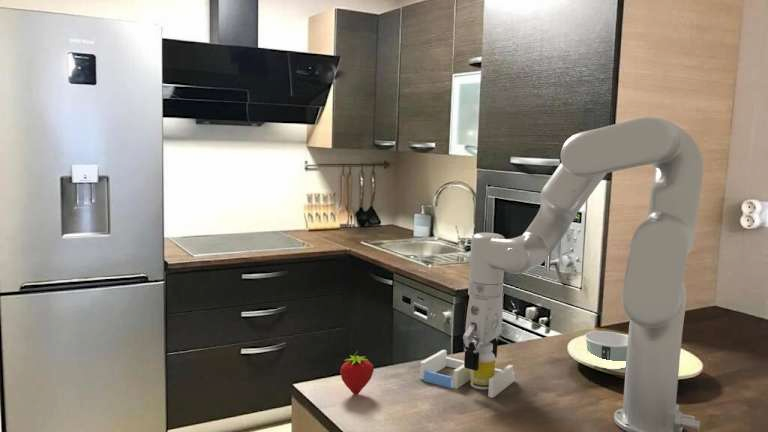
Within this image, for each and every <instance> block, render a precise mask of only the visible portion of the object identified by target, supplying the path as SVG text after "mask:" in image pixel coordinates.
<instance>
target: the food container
mask: <svg viewBox="0 0 768 432" xmlns="http://www.w3.org/2000/svg"><path fill="white" fill-rule="evenodd" d="M583 337H584V339H585V342H586V349H587V350H588V351H589V352H590V353H591V354H593V355H595V356H597V357H599V358H602V359H606V360H612V361H626V358H627V345H628V335H626V334H622V333H619V332H614V331H604V330H599V331H598V330H597V331H589V332H587V333H585V334H584V336H583ZM588 351H587V352H588Z"/></svg>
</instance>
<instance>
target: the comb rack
mask: <svg viewBox="0 0 768 432" xmlns="http://www.w3.org/2000/svg"><path fill="white" fill-rule="evenodd" d="M447 352H448V351H447V350H446V349H441V350H439V351H438V352H436V353H435V354H433V355H431V356H429V357H427V358H425V359H423V360H422V361H420V362H419V363H420V364H419V379H420V380H423V382H425V383H429V384H434V385H437V386H441V387H445V388H449V389H451V388H453V389H459V388H460V387H462V386H463V385H464V384H466V383H467V382H470V371H471V369H468V368H465V367H464V360H462V359H457V358H453V357H449V356H447V355H448V353H447ZM446 367H449V368H452V369H453V374H452V375H453V376H451V375H450V376H449V375H446V374H443V373H442V374H441V373H438V372H439V371H440V370H443V369H444V368H446ZM515 375H516V374H515V372H514V365H513V364H508V365H506V366H505V367H504V368H503V369H500V368H496V367H495V375H494V376H493V377H491V378H490V379H489V389H488V394H487V395H488V398H492V399H493V398H494V397H496V396H498V394H500V393H501V392H502V391H503V390H505V389H507V387H509V386H510V385H511V384H513V383H514V382H515Z"/></svg>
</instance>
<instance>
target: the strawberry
mask: <svg viewBox="0 0 768 432" xmlns="http://www.w3.org/2000/svg"><path fill="white" fill-rule="evenodd" d="M357 353H358V350H357V351H356V352H355V353H354V354H353V355H351V354H349V357H350V358H346V359H344V361H345V362H344V363H343V364H342V365H341V367H340V371H339V374H340V377H341V380H342V382H343V383H344V385H345V386H346V387H347V388H348V390H349V391H350V392H351V393H352V394H353V395H358V394H360V392H362V390H363V389H364V388H365V386H367V384H368V383H369V382H370V380H371V379H372V376H373V374H374V371H375V369H374V365H373V363H371V361H369V359H368V358H367V355H365V356H359V355H356V354H357Z"/></svg>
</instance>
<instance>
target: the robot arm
mask: <svg viewBox="0 0 768 432" xmlns="http://www.w3.org/2000/svg"><path fill="white" fill-rule="evenodd" d="M560 161H561V162H560V164H559V165H558V167H556V169H555V171H554V172H553V174H552V175H551V176H550V178H549V179H548V181H547V182H546V183H545V184H544V186H543V188H542V189H541V192H540V201H541V202H540V207H539V209H538V212H537V214H536V216H535V217H534V219H533V220H532V222H531V223H530V224H529V226H528V227H527V228H526V230H525V231H524V232H523V234H522V235H519V236H516V237H513V238H505V236H504V235H502V234H499V233H495V232H477V233H475V234H474V235H473V236H472V237H471V240H470V241H471V242H470V254H469V255H470V257H469V273H468V290H467V291H468V292H467V294H468V296H469V299H468V305H467V309H466V310H467V311H466V321H465V332H464V334H463V336H462V339H463V349H464V360H463V361H464V367H465V368H468V369H471V370H475V371H477V370H478V366H479V353H478V349H479V347H480V344H481V342H482V343H484V344H486V343H488V342H490V343H492V344H493V350H492V353H493V354H494V355H495V359H496V358H497V357H498V346H499V345H498V344H499V343H498V341H499V339H500V337H499V336H500V335H501V334H502V332H503V292H504V291H503V290H504V289H503V287H504V276H505V275H504V273H508V274H512V275H521V274H525V273H527V272H529V271H531V270H533V269H535V268H537V267H538V266H540V265H542V264H543V263H545V261H546V260H547V259H548V257H550V255H551V254H552V253H553V251H554V250H555V249H556V247H557V246H558V245H559V243H560V242H561V240H562V239H563V238H564V236H565V235H566V233H567V232H568V229H569V228H570V226H571V225H572V223H573V222H574V220H575V218H576V216H577V214H578V213H579V211H580V209H581V208H582V207H583V206H584V205H585V203H586V202H587V201H588V199H589V198H590V196H591V195H592V194H593V193H594V191H595V190H596V188H597V187H598V186H599V184H600V183H601V182H602V180H603V179H604V178H605V176H606V175H607V174H608V173H609V174H610V173H612V172H618V171H623V170H627V169H632V168H637V167H638V168H639V167H642V166H647V165H652V166H653V169H654V174H653V181H652V184H651V189H650V196H649V202H648V209H647V212H646V213H647V214H646V217H645V220H643V221H642V222H641V223H640V224H639V225H638V226H637V228H636V229H635V231H634V232H633V235H632V238H631V241H630V246H629V250H628V256H627V262H626V268H625V273H624V274H625V275H624V279H623V280H624V281H623V286H622V291H621V305H622V308H623V311H624V313H625V315H626V317H627V318H628V319H629V325H628V333H627V334H628V335H627V336H628V345H627V358H626V368H625V375H624V385H623V386H624V387H623V401H622V407H621V408H619V409H616V410H615V411H614V413H613V422H614V423H615V425H616V426H618V428H621V429H622V430H623V431H625V432H684V431H683V430H684V428H685V429H688V430H691V431H695V432H699V431H700V426H701V421H700V420H696V416H695V415H690V414H685V413H683V412H682V411H680V405H679V404H677V395H678V394H677V393H678V384H679V370H680V359H681V358H680V357H681V353H682V352H681V349H682V339H683V329H684V321H685V313H686V306H687V297H688V296H687V289H686V288H687V287H686V285H685V282H684V273H685V268H686V263H687V259H688V255H689V254H690V253H691V252H692V249H693V247H694V243H695V232H696V231H695V230H696V225H697V219H698V212H699V207H700V202H701V201H700V200H701V199H700V198H701V193H702V188H703V187H702V186H703V179H704V160H703V156H702V153H701V150H700V148H699V146H698V143H697V142H696V140H695V139H694V138H693V137H692V136H691V135H690V133H688V132H687V131H686V130H684V129H683V128H682V127H680V126H679V125H677V124H675V123H673V122H671V121H670V120H667V119H663V118H660V117H659V118H658V117H652V116H647V117H646V116H645V117H640V118H634V119H631V120H626V121H622V122H619V123H615V124H611V125H610V124H609V125H606V126H603V127H599V128H598V127H597V128H595V129H589V130H586V131H585V130H584V131H581V132H578V133H575V134H573V135H571V136H570V137H569V138H567V140H566V141H565V142H564V144H563V146H562V148H561V151H560ZM475 343H476V344H475Z"/></svg>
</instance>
